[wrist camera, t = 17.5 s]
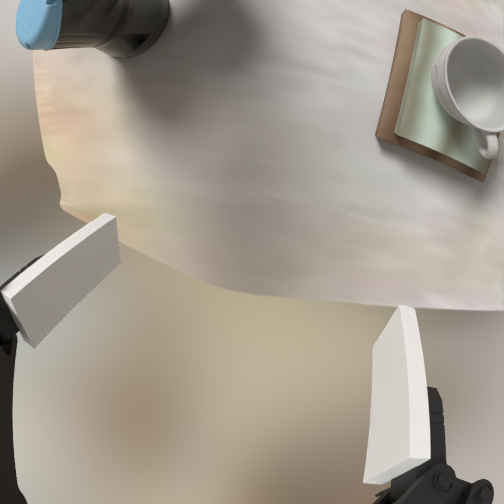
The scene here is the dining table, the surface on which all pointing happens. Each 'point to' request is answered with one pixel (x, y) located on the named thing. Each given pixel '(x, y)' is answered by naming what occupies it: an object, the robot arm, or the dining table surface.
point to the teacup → (472, 88)
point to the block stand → (425, 101)
